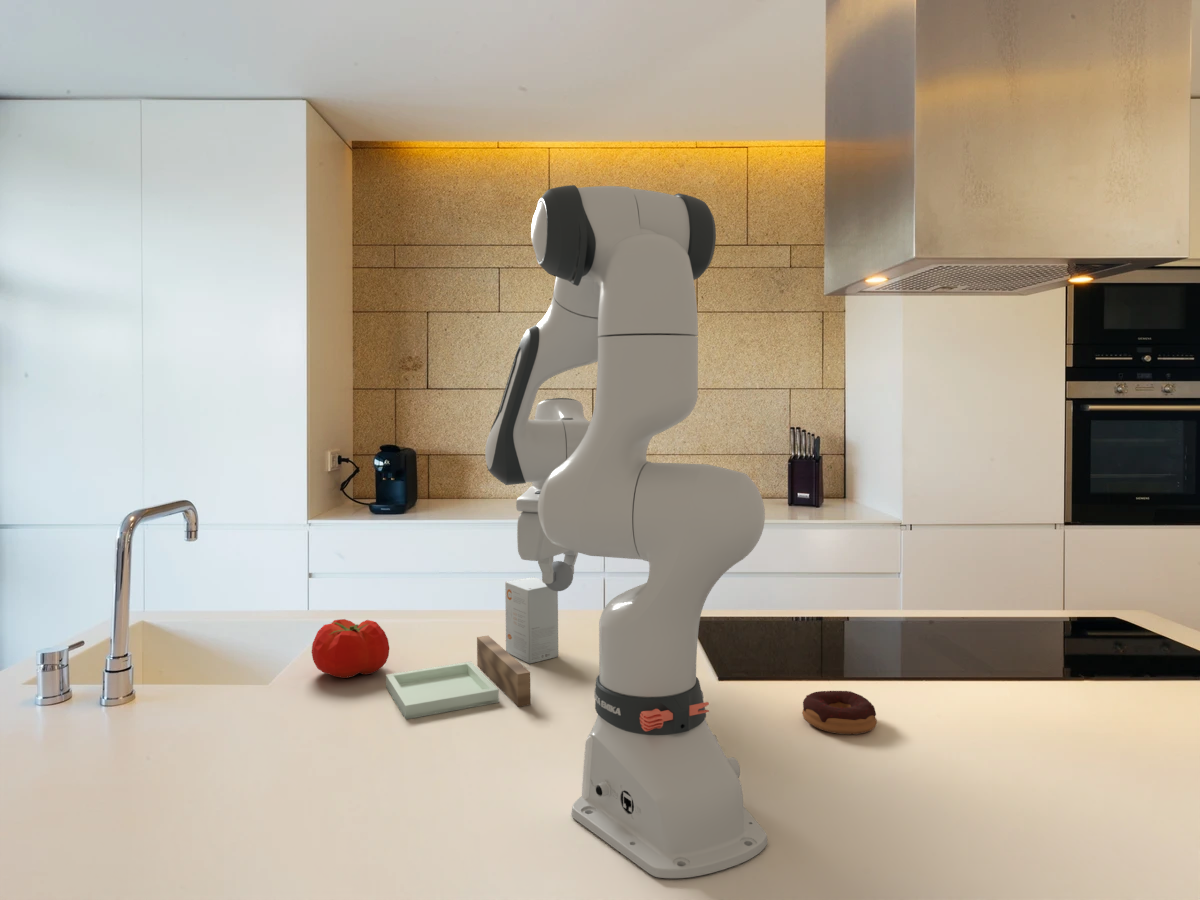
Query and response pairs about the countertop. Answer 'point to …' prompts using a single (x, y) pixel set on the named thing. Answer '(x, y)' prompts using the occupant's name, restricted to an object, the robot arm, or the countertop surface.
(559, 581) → the ball
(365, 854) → the countertop surface
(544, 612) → the small box
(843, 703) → the donut
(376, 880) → the countertop surface
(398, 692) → the dish
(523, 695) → the rail
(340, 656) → the tomato
